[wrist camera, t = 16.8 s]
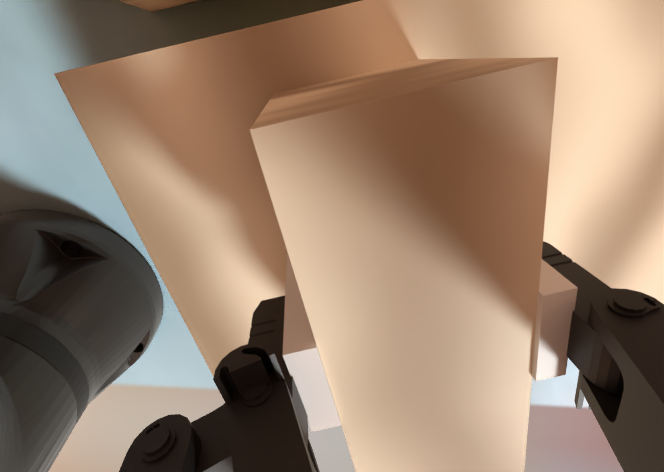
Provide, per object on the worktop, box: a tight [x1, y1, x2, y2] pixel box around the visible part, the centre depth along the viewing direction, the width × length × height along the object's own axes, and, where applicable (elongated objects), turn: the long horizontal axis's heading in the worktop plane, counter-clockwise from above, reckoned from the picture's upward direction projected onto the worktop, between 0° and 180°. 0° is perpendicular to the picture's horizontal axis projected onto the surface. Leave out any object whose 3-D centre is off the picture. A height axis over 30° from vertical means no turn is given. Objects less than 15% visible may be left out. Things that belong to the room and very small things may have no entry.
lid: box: [55, 0, 664, 472], centre depth 12 cm, size 26×16×8 cm, turn 102°
